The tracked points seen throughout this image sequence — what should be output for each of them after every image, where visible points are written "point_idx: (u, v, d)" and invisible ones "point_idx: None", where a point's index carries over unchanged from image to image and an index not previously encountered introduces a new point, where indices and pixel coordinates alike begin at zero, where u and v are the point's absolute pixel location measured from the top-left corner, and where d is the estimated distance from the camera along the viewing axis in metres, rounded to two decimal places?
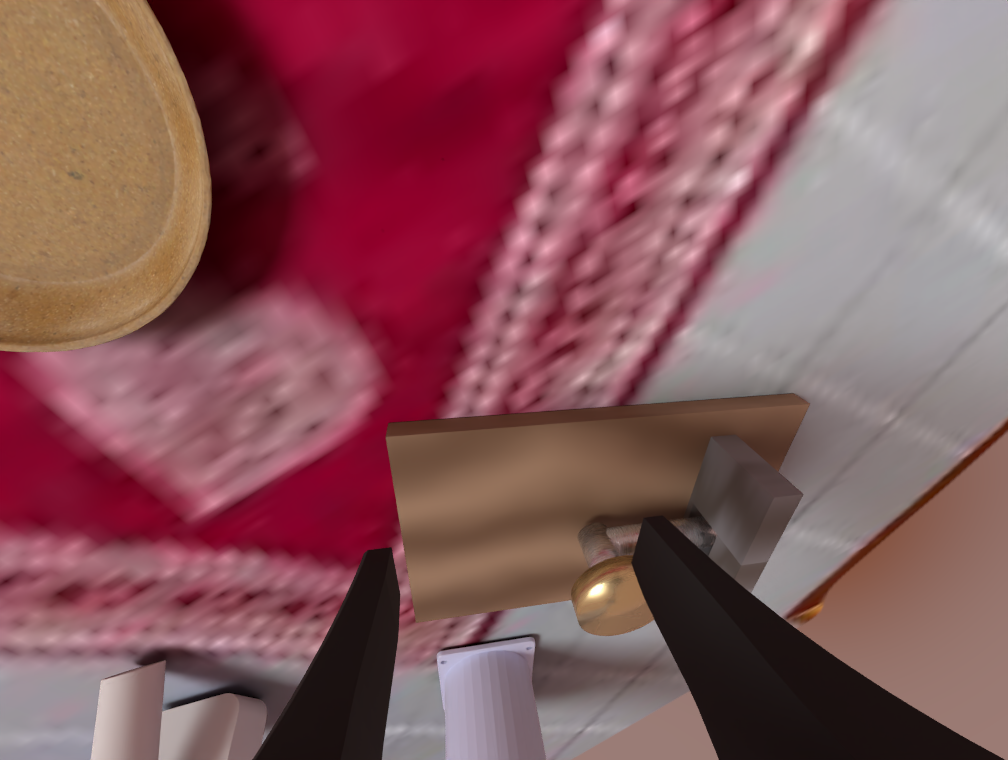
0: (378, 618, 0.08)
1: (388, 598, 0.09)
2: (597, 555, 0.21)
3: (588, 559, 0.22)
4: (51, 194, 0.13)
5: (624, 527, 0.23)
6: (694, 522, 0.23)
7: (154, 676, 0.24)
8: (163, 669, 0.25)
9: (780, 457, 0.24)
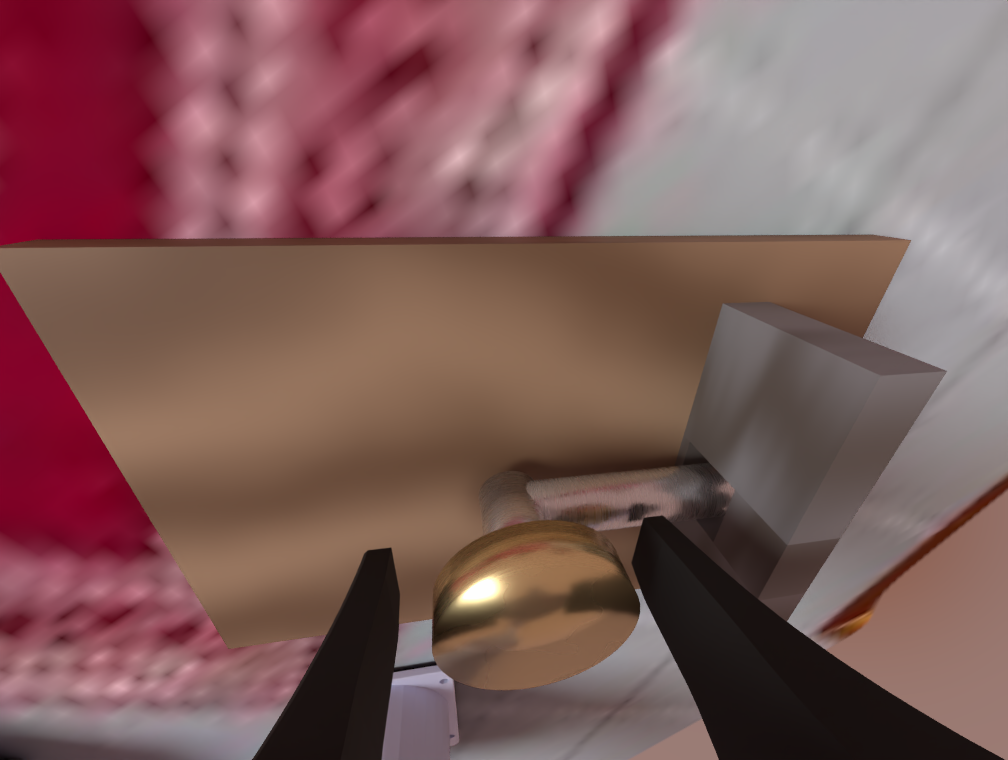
0: (378, 618, 0.08)
1: (388, 598, 0.09)
2: (499, 527, 0.11)
3: None
4: None
5: (562, 479, 0.13)
6: (691, 471, 0.13)
7: None
8: None
9: None
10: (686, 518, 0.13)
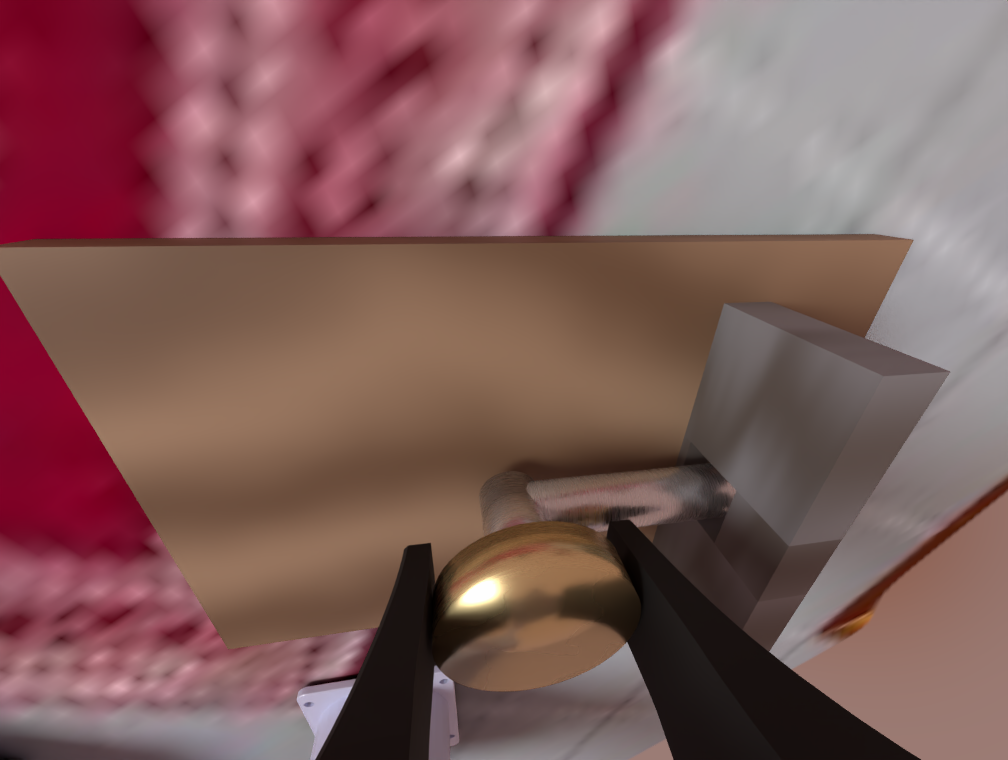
0: (426, 611, 0.08)
1: (431, 592, 0.09)
2: (499, 528, 0.11)
3: None
4: None
5: (563, 480, 0.12)
6: (692, 472, 0.13)
7: None
8: None
9: None
10: (687, 519, 0.12)
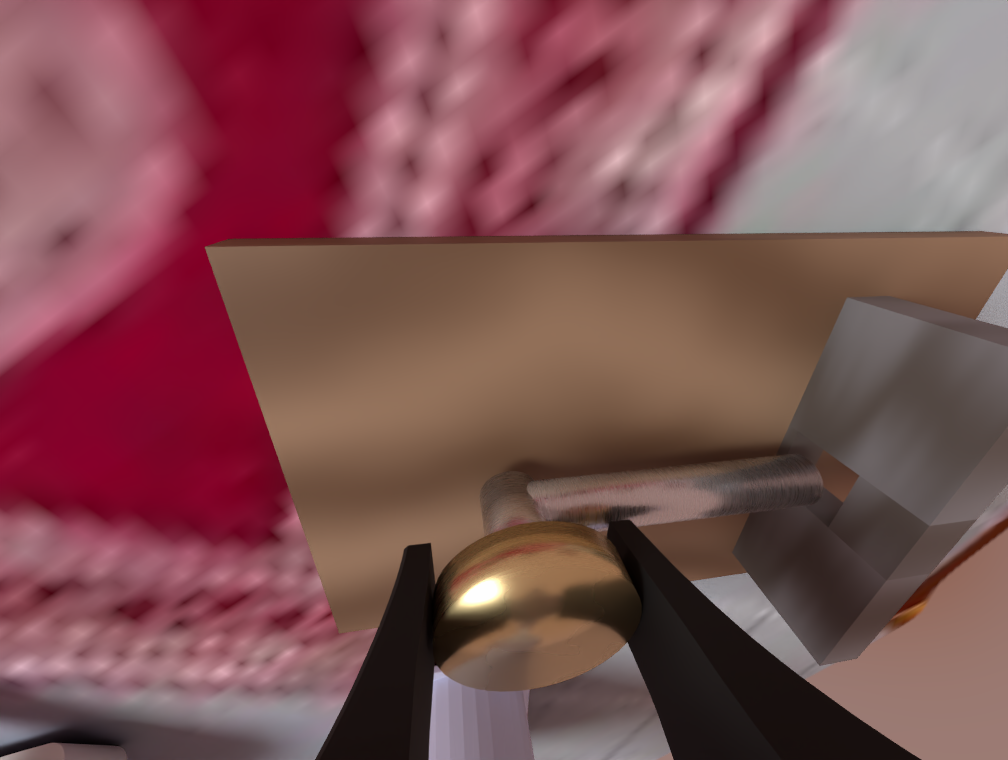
0: (426, 611, 0.08)
1: (431, 592, 0.09)
2: (500, 528, 0.11)
3: None
4: None
5: (563, 479, 0.12)
6: (693, 471, 0.13)
7: None
8: None
9: None
10: (688, 518, 0.12)
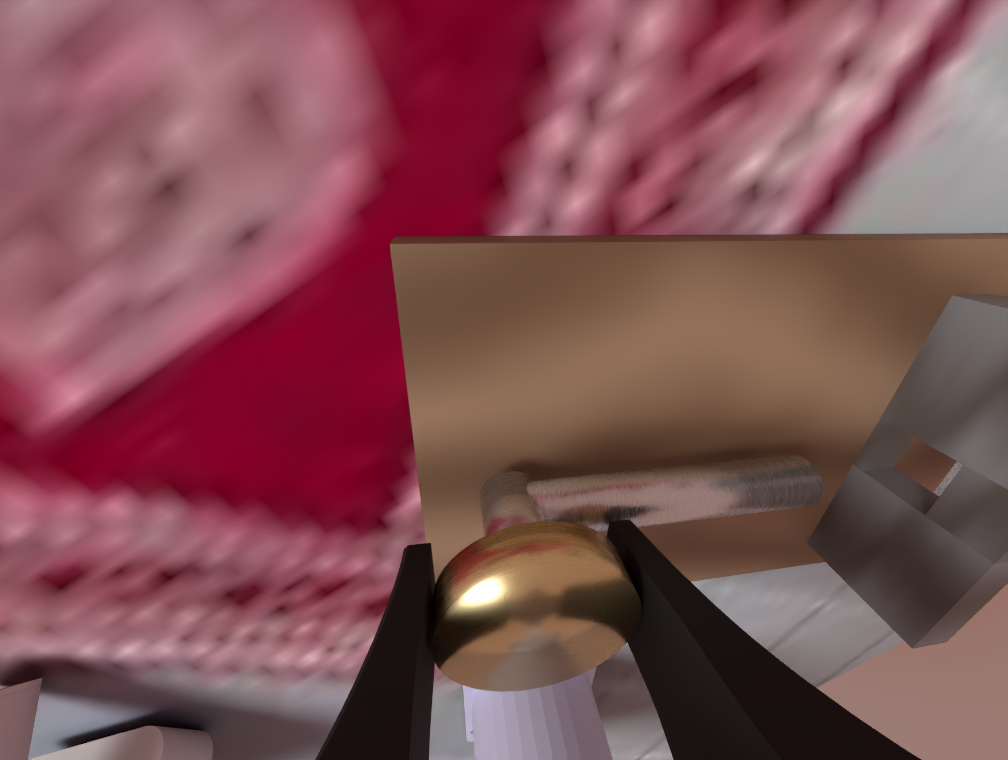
0: (426, 611, 0.08)
1: (431, 592, 0.09)
2: (500, 528, 0.11)
3: None
4: None
5: (563, 479, 0.12)
6: (693, 471, 0.13)
7: (12, 705, 0.15)
8: (33, 693, 0.16)
9: None
10: (687, 519, 0.12)
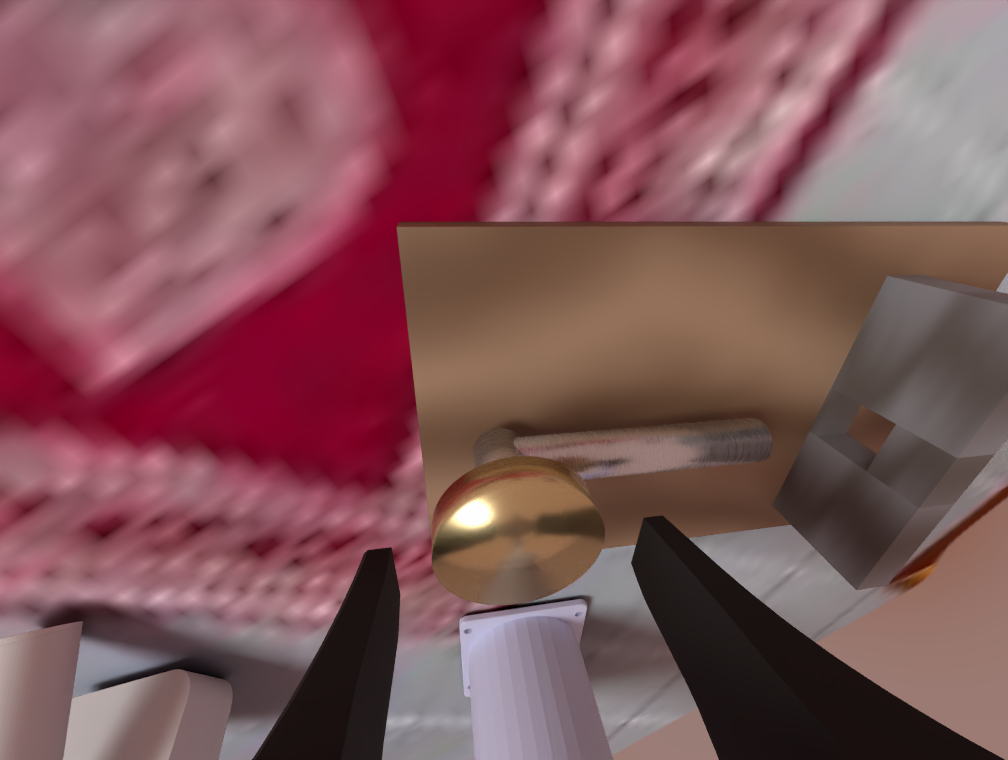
0: (378, 618, 0.08)
1: (388, 598, 0.09)
2: None
3: None
4: None
5: (545, 435, 0.14)
6: (659, 429, 0.15)
7: (60, 641, 0.17)
8: (76, 633, 0.18)
9: None
10: (653, 469, 0.14)
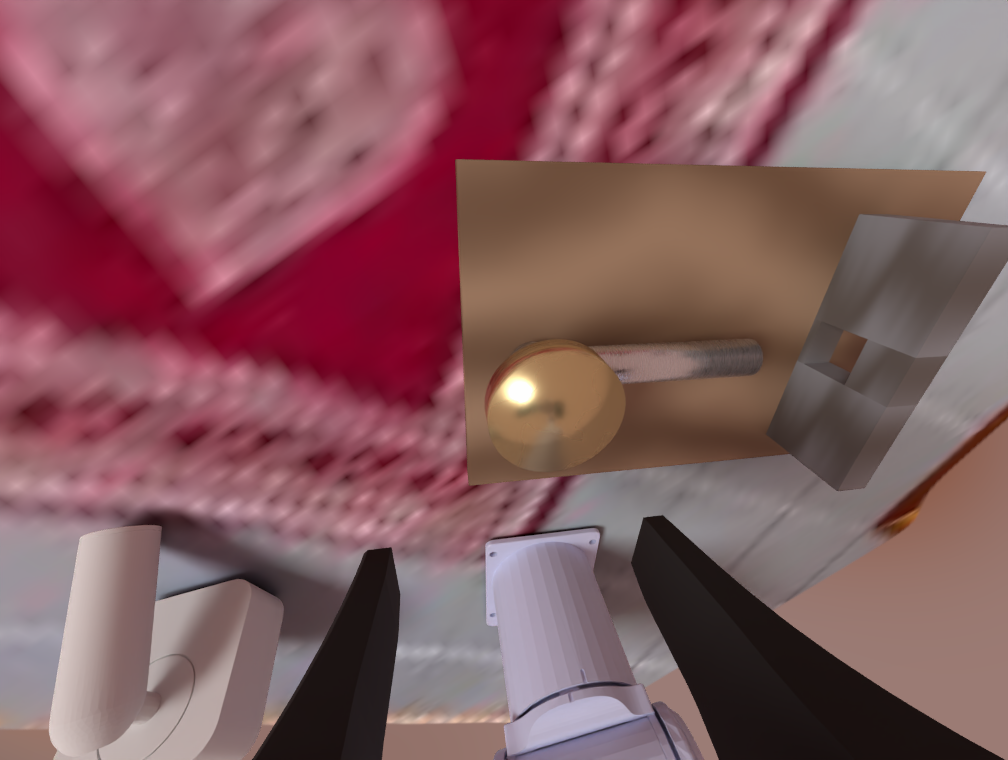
0: (378, 618, 0.08)
1: (388, 598, 0.09)
2: None
3: None
4: None
5: None
6: (667, 344, 0.17)
7: (147, 538, 0.20)
8: (158, 535, 0.20)
9: None
10: (662, 376, 0.17)
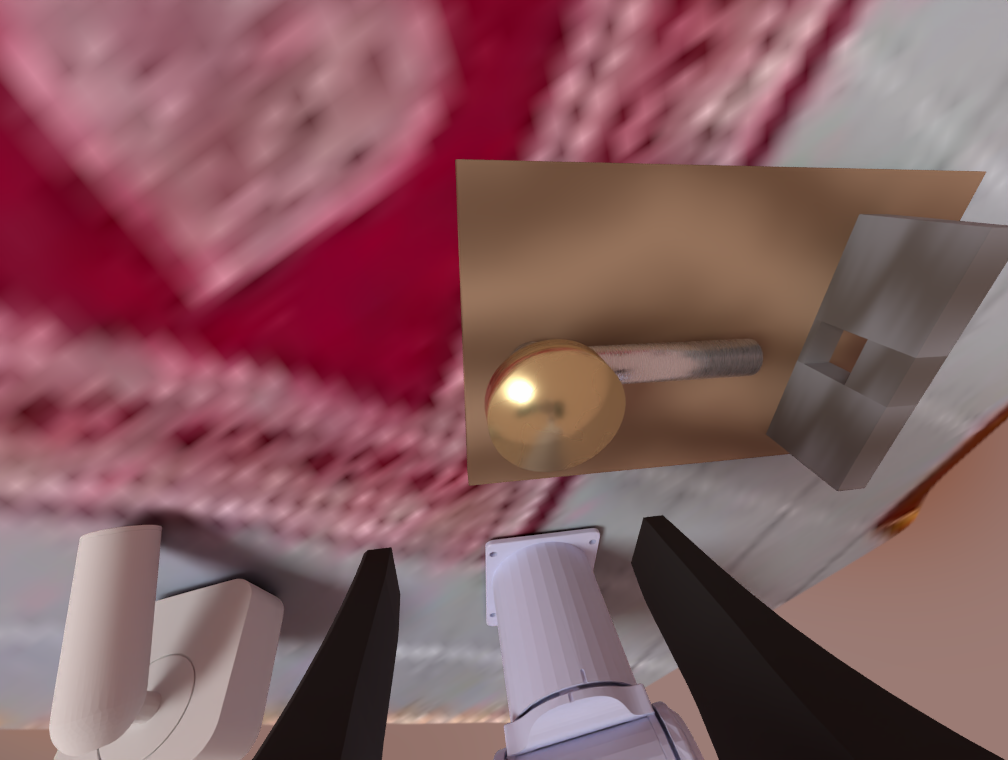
0: (378, 618, 0.08)
1: (388, 598, 0.09)
2: None
3: None
4: None
5: None
6: (667, 344, 0.17)
7: (147, 538, 0.20)
8: (158, 534, 0.20)
9: None
10: (662, 376, 0.17)
